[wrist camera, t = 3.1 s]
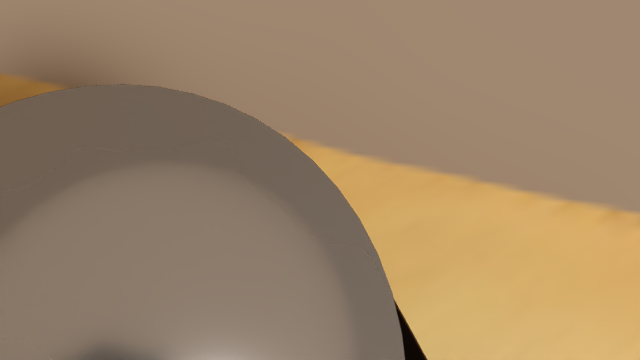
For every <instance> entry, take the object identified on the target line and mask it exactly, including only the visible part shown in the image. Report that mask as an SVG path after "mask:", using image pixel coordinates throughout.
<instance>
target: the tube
mask: <svg viewBox="0 0 640 360" xmlns="http://www.w3.org/2000/svg"><path fill="white" fill-rule="evenodd" d="M0 360H405V356H404V347H403V338H402V332H401V328H400V324H399V320H398V315H397V311H396V307H395V303H394V298H393V294H392V291H391V288H390V285H389V283H388V280H387V277H386V275H385V272H384V269H383V267H382V264H381V261H380V258H379V256H378V253H377V251H376V249H375V248H374V246H373V244H372V242H371V240H370V238H369V236H368V234H367V232H366V230H365V228H364V226H363V225H362V223H361V221H360V219H359V217H358V216H357V214H356V213H355V212H354V210H353V209H352V207H351V206H350V204H349V203H348V202H347V200H346V199H345V197H344V196H343V194H342V193H341V192H340V190H339V189H338V187H337V186H336V185H335V184H334V183H333V182H332V181H331V180H330V179H329V178H328V176H327V175H326V174H325V173H324V172H323V171H322V170H321V169H320V168H319V167H318V165H317V164H316V163H315V162H314V161H313V160H312V159H311V158H309V157H308V156H307V155H306V154H305V153H303V152H302V151H301V150H300V149H299V148H298V147H296V146H295V145H294V144H293V143H292V142H290V141H289V140H288V139H287V138H286V137H284V136H283V135H281V134H279V133H278V132H276V131H275V130H273V129H271V128H270V127H268V126H267V125H265V124H264V123H262V122H261V121H259V120H258V119H256V118H254V117H252V116H250V115H247V114H245V113H243V112H241V111H239V110H237V109H235V108H232V107H230V106H228V105H226V104H224V103H220V102H218V101H214V100H211V99H208V98H205V97H202V96H199V95H196V94H193V93H188V92H182V91H178V90H172V89H167V88H162V87H154V86H141V85H126V84H120V85H119V84H118V85H99V86H98V85H96V86H83V87H77V88H71V89H64V90H58V91H52V92H48V93H44V94H40V95H37V96H33V97H29V98H26V99H22V100H18V101H15V102H12V103H9V104H7V105H4V106H2V107H0Z"/></svg>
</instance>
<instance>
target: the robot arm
mask: <svg viewBox="0 0 640 360" xmlns="http://www.w3.org/2000/svg"><path fill="white" fill-rule="evenodd" d="M394 303H395V307H396V311H397V315H398V320H399V324H400V328H401V332H402V338H403V347H404V356H405V360H427V358H426V356H425V355H424V353H423V351H422V349H421V347H420V345H419V344H418V342H417V340H416V338H415V336H414V335H413V333H412V331H411V329H410V327H409V325H408V324H407V322H406V320H405V318H404V316H403V315H402V313H401V311H400V309H399V307H398V305H397V304H396V302H395V300H394Z"/></svg>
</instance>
